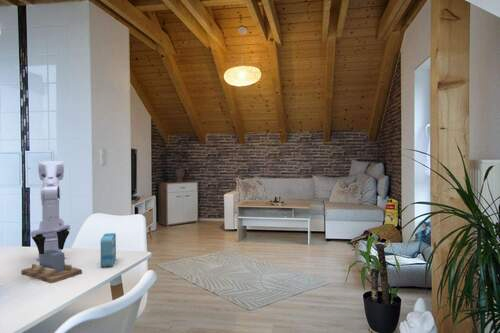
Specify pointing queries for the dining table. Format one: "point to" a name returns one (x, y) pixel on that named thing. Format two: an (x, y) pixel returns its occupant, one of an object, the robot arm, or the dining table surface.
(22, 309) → the dining table surface
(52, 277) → the shelf board
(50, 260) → the slate blue book
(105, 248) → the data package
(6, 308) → the dining table surface
